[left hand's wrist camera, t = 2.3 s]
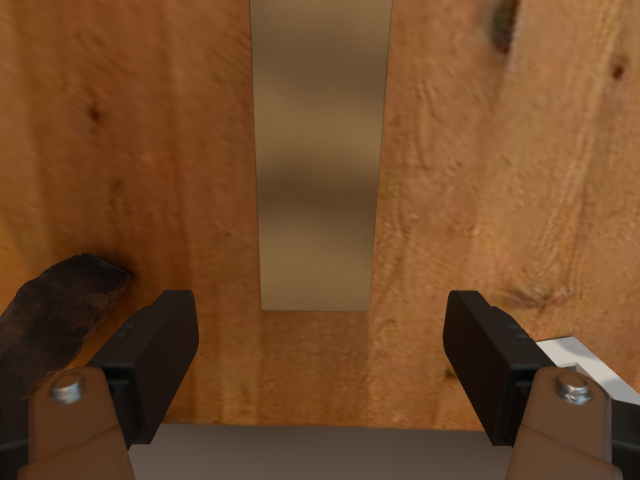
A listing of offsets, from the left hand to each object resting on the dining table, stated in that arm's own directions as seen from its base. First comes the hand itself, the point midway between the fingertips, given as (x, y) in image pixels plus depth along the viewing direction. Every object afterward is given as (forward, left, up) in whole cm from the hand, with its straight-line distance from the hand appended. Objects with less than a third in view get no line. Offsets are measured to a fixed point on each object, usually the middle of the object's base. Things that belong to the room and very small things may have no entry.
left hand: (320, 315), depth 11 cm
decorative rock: (-20, +12, -19) cm, 30 cm away
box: (+7, +4, -19) cm, 20 cm away
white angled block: (-3, -28, -19) cm, 34 cm away
